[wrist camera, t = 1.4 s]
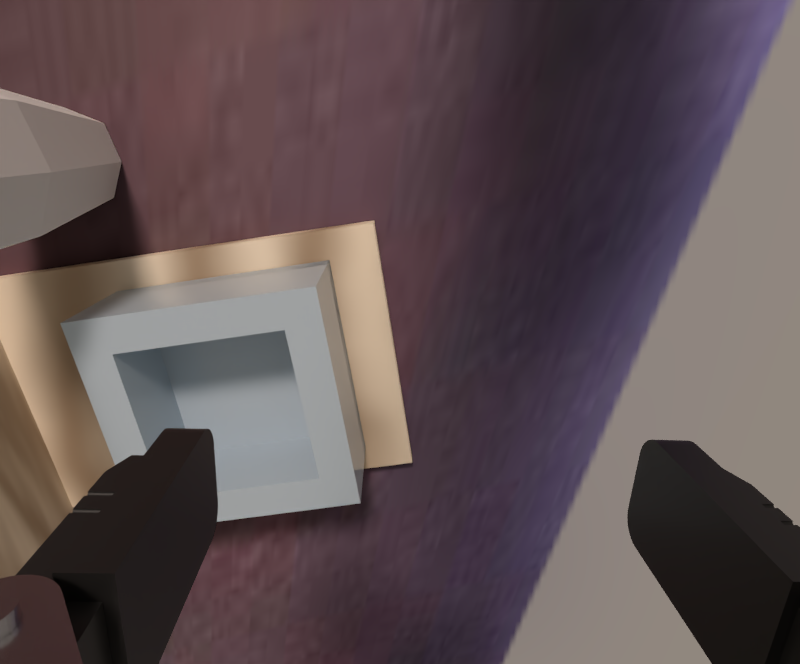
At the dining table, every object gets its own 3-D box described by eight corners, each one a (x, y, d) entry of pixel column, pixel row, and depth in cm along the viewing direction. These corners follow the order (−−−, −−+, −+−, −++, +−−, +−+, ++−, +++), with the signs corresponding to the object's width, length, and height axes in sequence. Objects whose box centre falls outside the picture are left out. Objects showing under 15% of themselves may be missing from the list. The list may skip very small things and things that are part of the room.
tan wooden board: (360, 137, 26) (342, 138, 16) (420, 509, 33) (431, 656, 24) (-78, 205, 27) (-334, 242, 17) (77, 553, 34) (-43, 711, 25)
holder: (329, 260, 27) (315, 286, 22) (365, 447, 31) (360, 503, 26) (117, 291, 27) (60, 323, 23) (178, 471, 31) (140, 531, 26)
